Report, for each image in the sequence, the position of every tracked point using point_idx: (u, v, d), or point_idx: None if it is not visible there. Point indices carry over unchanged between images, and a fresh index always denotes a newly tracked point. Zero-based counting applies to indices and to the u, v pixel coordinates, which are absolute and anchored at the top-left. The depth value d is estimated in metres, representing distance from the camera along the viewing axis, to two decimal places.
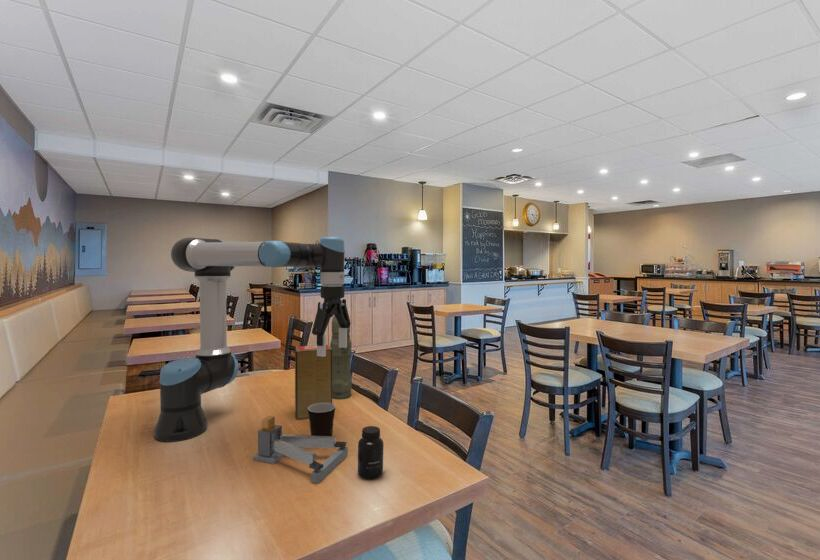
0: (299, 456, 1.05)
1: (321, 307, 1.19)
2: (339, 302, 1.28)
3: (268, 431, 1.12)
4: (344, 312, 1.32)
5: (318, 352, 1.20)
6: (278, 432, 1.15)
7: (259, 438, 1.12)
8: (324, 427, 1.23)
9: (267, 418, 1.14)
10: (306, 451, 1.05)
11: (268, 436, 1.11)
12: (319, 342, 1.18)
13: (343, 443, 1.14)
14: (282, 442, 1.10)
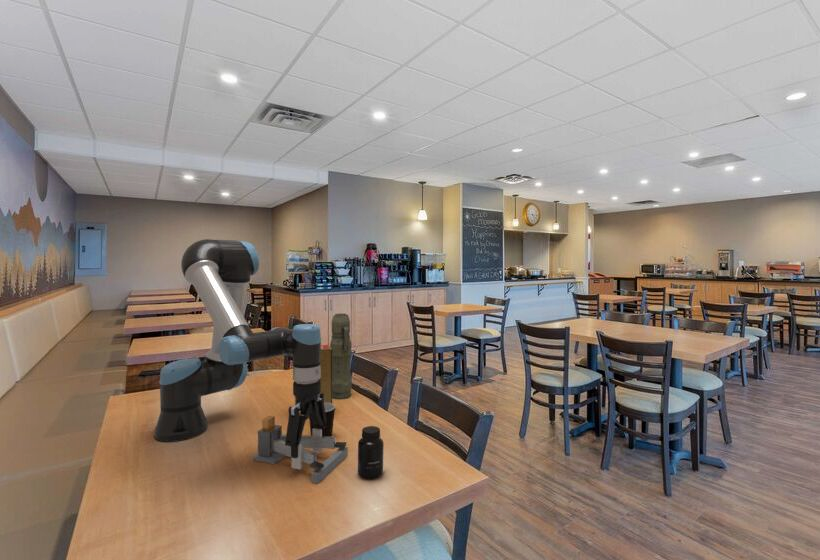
0: None
1: (293, 414, 1.03)
2: (315, 397, 1.12)
3: (268, 431, 1.12)
4: (320, 408, 1.15)
5: (293, 464, 1.05)
6: (278, 432, 1.15)
7: (259, 438, 1.12)
8: None
9: (267, 418, 1.14)
10: (307, 451, 1.05)
11: (268, 436, 1.11)
12: (294, 454, 1.04)
13: (343, 443, 1.14)
14: (282, 442, 1.10)
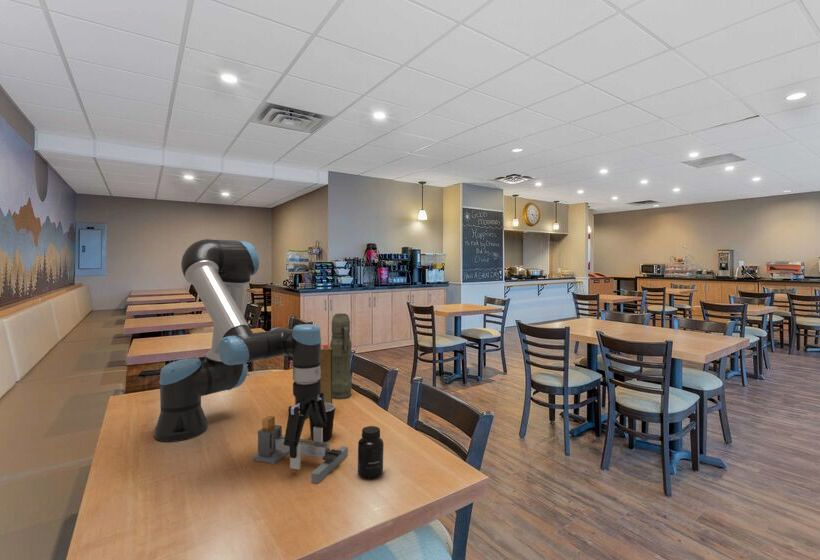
0: (308, 451, 1.08)
1: (292, 413, 1.03)
2: (315, 397, 1.12)
3: (268, 431, 1.12)
4: (320, 408, 1.16)
5: (291, 464, 1.05)
6: (278, 432, 1.15)
7: (259, 438, 1.12)
8: (324, 427, 1.23)
9: (267, 418, 1.14)
10: (316, 445, 1.08)
11: (268, 436, 1.11)
12: (292, 454, 1.03)
13: (337, 452, 1.09)
14: None
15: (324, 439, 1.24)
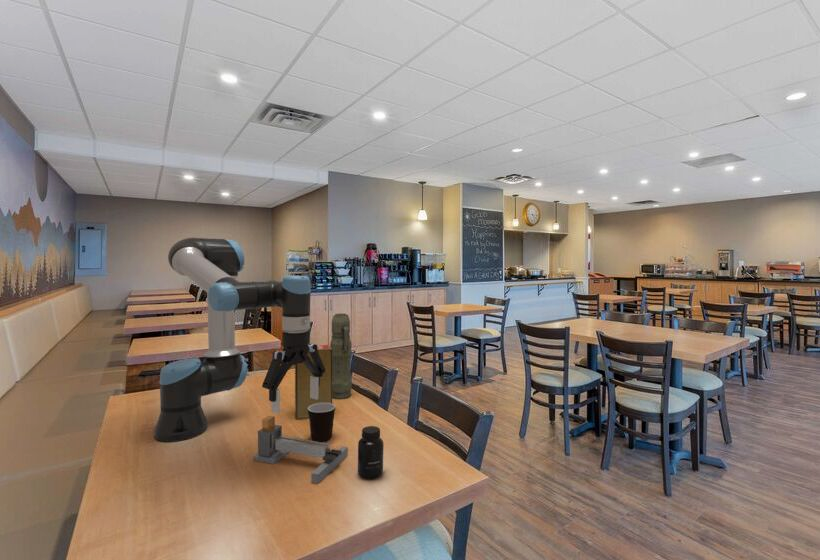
0: (308, 451, 1.08)
1: (275, 357, 1.05)
2: (305, 349, 1.12)
3: (268, 431, 1.12)
4: (316, 359, 1.16)
5: (272, 408, 1.06)
6: (278, 432, 1.15)
7: (259, 438, 1.12)
8: (324, 427, 1.23)
9: (267, 418, 1.14)
10: (316, 445, 1.08)
11: (268, 436, 1.11)
12: (271, 397, 1.04)
13: (337, 452, 1.09)
14: (287, 440, 1.11)
15: (324, 439, 1.24)
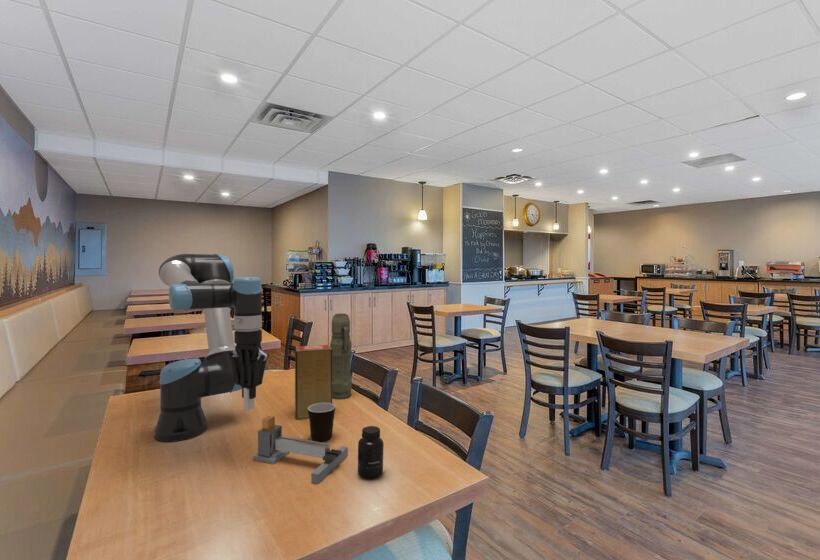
0: (308, 451, 1.08)
1: None
2: (253, 348, 1.14)
3: (268, 431, 1.12)
4: None
5: None
6: (278, 432, 1.15)
7: (259, 438, 1.12)
8: (324, 427, 1.23)
9: (267, 418, 1.14)
10: (316, 445, 1.08)
11: (268, 436, 1.11)
12: None
13: (337, 452, 1.09)
14: (287, 440, 1.11)
15: (324, 439, 1.24)
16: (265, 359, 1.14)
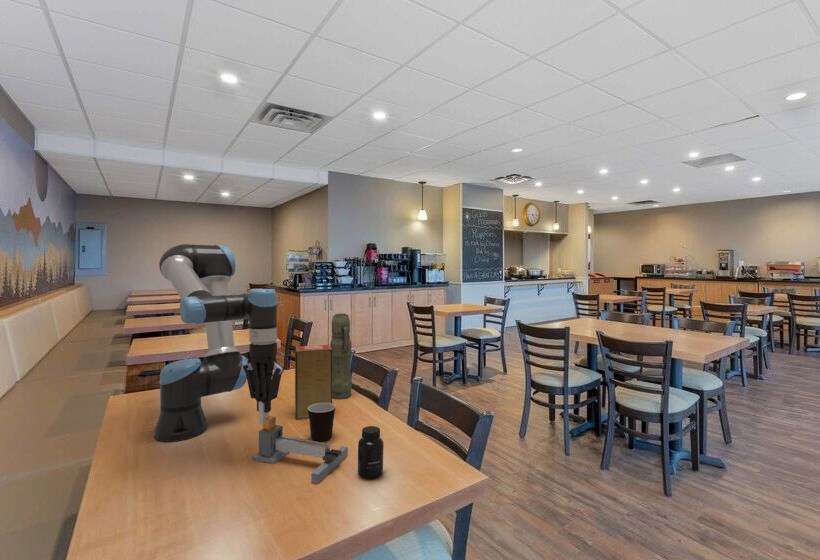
0: (308, 451, 1.08)
1: None
2: (268, 361, 1.12)
3: (269, 431, 1.12)
4: None
5: None
6: (279, 432, 1.15)
7: (260, 438, 1.12)
8: (324, 427, 1.23)
9: (268, 418, 1.14)
10: (316, 445, 1.08)
11: (269, 436, 1.11)
12: None
13: (337, 452, 1.09)
14: (287, 440, 1.11)
15: (324, 439, 1.24)
16: (280, 372, 1.12)
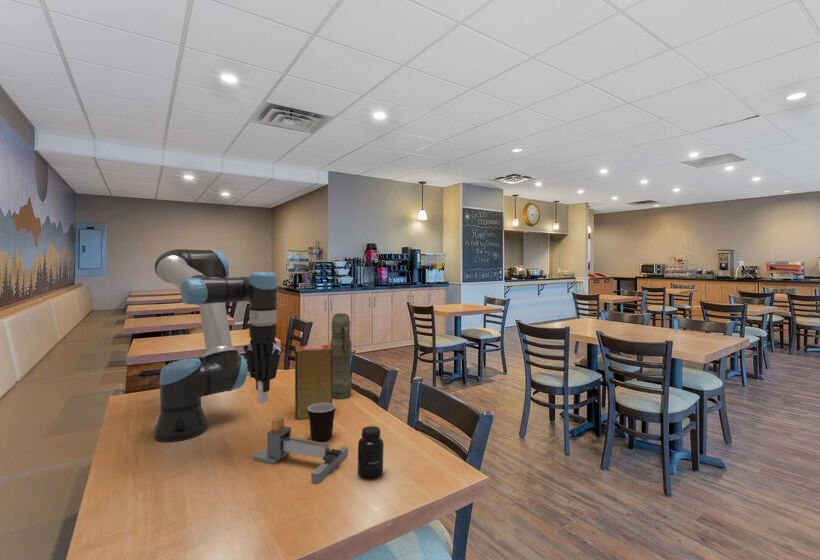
0: (308, 451, 1.08)
1: None
2: (267, 342, 1.15)
3: (277, 433, 1.11)
4: None
5: None
6: (287, 434, 1.14)
7: (268, 440, 1.11)
8: (324, 427, 1.23)
9: (276, 419, 1.13)
10: (316, 445, 1.08)
11: (278, 438, 1.10)
12: None
13: (337, 452, 1.09)
14: (287, 440, 1.11)
15: (324, 439, 1.24)
16: (279, 353, 1.16)
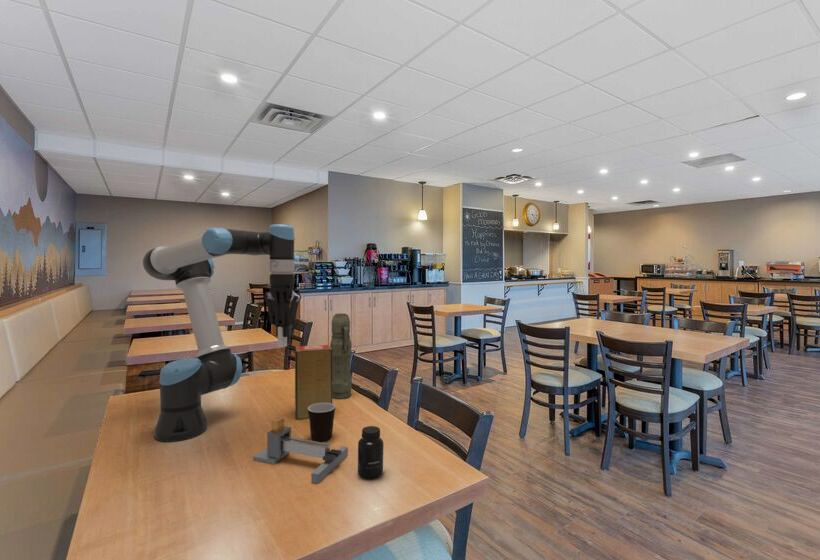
0: (308, 451, 1.08)
1: None
2: (287, 290, 1.23)
3: (277, 433, 1.11)
4: None
5: None
6: (287, 434, 1.14)
7: (268, 440, 1.11)
8: (324, 427, 1.23)
9: (276, 419, 1.13)
10: (316, 445, 1.08)
11: (278, 438, 1.10)
12: None
13: (337, 452, 1.09)
14: (287, 440, 1.11)
15: (324, 439, 1.24)
16: (298, 300, 1.24)
